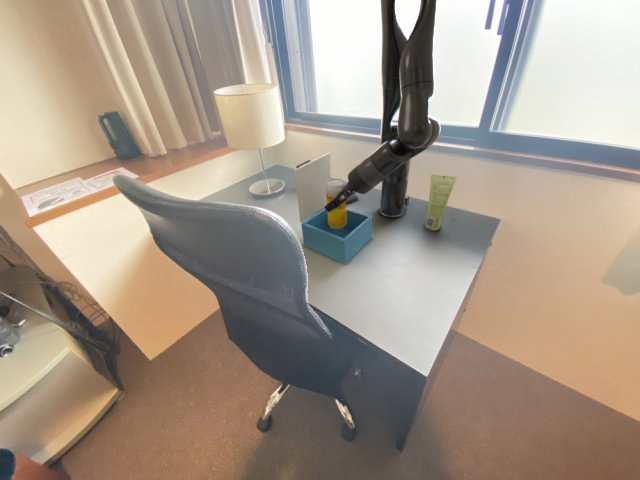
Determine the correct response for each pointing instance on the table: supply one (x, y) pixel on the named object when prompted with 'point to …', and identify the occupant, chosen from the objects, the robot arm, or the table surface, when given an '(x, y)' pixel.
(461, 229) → the table surface
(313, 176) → the lid
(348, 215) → the blue open box
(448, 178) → the tube
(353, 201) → the smart home device
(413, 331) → the table surface
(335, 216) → the beer can
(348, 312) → the table surface
